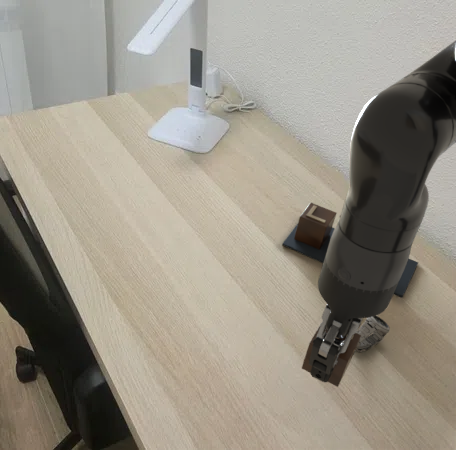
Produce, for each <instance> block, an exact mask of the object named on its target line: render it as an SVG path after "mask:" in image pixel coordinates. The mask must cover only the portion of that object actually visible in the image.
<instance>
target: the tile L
mask: <svg viewBox="0 0 456 450" xmlns="http://www.w3.org/2000/svg"><path fill="white" fill-rule="evenodd" d="M336 217H337V212H336V211H333V210H332V209H328V208H326V207H323V206H321V205H319V204H316V203H314V202H309V204H308V205H307V206H306V208H305V209H304V211H302V213H301V214H300V216H299V217H298V223H297V224H298V226H297V229H296V233H295V237H294V239H296V240H298V241H300V242H303V243H305V244H307V245H310V246H312V247H314V248H317V249H319V250H320V249H321V247H322V246H323V244H324V243H325V241H326V240H327V238H328V237H329V235H330V232H331V229H332V227H333V226H334V223H335V219H336Z"/></svg>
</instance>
